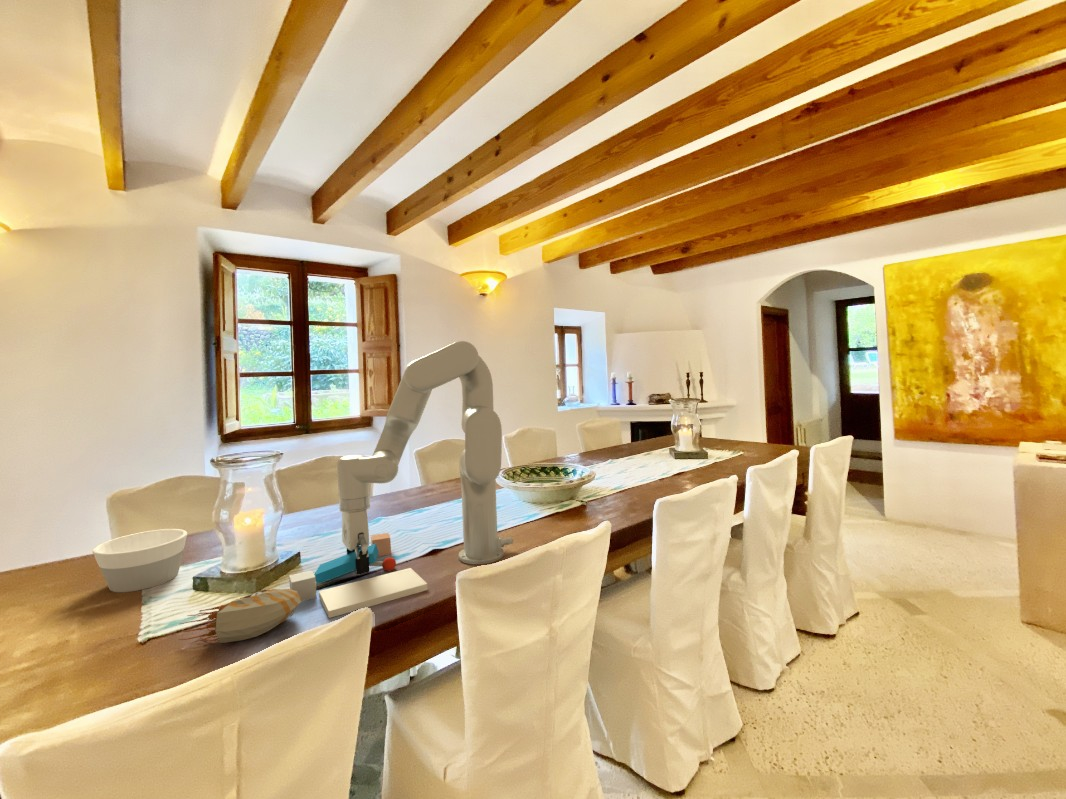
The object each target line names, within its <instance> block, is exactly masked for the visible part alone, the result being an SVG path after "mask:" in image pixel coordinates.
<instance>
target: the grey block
mask: <svg viewBox="0 0 1066 799" xmlns="http://www.w3.org/2000/svg"><path fill="white" fill-rule="evenodd" d="M314 574H315V572H314V571H313V569H312V570H311V569H310V570H307V571H302V572H298V573H293V574H289V575H288V576H289V577H288V578H289V580H288V581H289V589H291V590H295V591H297V593H298V595H299V596H300V598H301V601H300V603H302V602H305V601H308V600H313V599H316V598H317V583H316V578H315V575H314Z"/></svg>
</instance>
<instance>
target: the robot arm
mask: <svg viewBox="0 0 1066 799" xmlns="http://www.w3.org/2000/svg"><path fill="white" fill-rule="evenodd" d="M458 378H459V380H460V383H461V389H462V390H461V393H462V394H461V396H462V405H461V406H462V409H461V410H462V411H461V412H462V414H461V429H462V431H463V433H464V439H465V441H464V442H465V443H464V449H463V450H462V452H461V454H460V457H459V461H458V462H459V464H458V465H459V467H458V468H459V474H460V477H459V478H460V487H461V509H462V510H461V511H462V512H461V514H462V533H463V534H462V535H463V549H461V550H460V551H459V552H458V560H459V561H460V562H462V563H465V564H470V565H486V564H487V565H488V564H492V563H494V562H496V561H499V560H501V559H502V558H503V557H504V555H505V554H504V552H505V551H504V549H503V548H504V547H505V546H508V545H512V544H513V543H514V538H513V537H512V536H508V537H505V536H499V537H498V516H497V513H498V512H497V490H496V480H497V478H498V477H499V475H500V473H501V468H502V449H503V448H502V444H503V443H502V440H503V439H502V437H503V436H502V435H503V434H502V433H503V432H502V428H503V427H502V424H501V423H502V422H501V418H500V417H499V415H498V413H497V412H495V410H494V384H493V378H492V374H491V370H490V369H489V367H488V365H487V363H486V362H485V361H484V359H483V358H482V357H481V356H480V355H479V352H478V349H477V348H476V347H475V345H474V344H473V343H471V342H468V341H467V340H466V341H465V340H457V341H455V342H453V343H450V344H448V345H446V346H444V347H442V348H440V349H437V350H436V351H433V352H431V353H429V354H426V355H425V356H421V357H420V358H417V359H414V360H412V361H411V362H409V363H408V364H407V366H406V367H405V369H404V371H403V374H402V376H401V380H400V382H399V384H398V387H397V390H396V392H395V394H394V397H393V399H392V401H391V403H390V406H389V408H388V411H387V414H386V417H385V422H384V425H383V429H382V431H381V433H380V436H379V439H378V442H377V443H376V447H375V448H374V451H373V453H372V456H365V455H362V454H351V455H350V454H349V455H345V456H342V457H340V458H339V459H338V460H337V463H336V464H337V465H336V466H337V467H336V468H337V470H336V472H337V484H338V503H339V504H338V505H339V512H341V513H342V514H341V520H342V521H341V533H342V534H341V537H342V540H341V541H342V543H343V546H345V547H346V555H347V554H349V553H352V552H355V553H356V558H357V559H355V564H356V570H355V574H356V575H357V576H358V575H363V574H367V573H369V572H370V566H369V555H368V550H367V547H368V546H370V532H369V531H370V530H369V518H368V509H370V507H371V497H370V496H371V495H370V493H371V492H370V484H381V485H382V484H387V483H389V482H392V481H394V479H395V478H396V477H397V476H398V473H399V466H400V465H399V464H400V462H401V459H402V456H403V453H404V451H405V449H406V446H407V445H408V442H409V440H410V437H411V436H412V434H413V433H414V432H415V431H416V429H417V427H418V425H419V423H420V422H421V419H422V415H423V413H424V412H425V408H426V405H427V404H428V401H429V398H430V396H431V394H432V391H433V390H434V389H436V388H439V387H441V386H444V385H446V384H448V383H449V382H452V381H454V380H456V379H458ZM358 550H360V552H358Z"/></svg>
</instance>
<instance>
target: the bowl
mask: <svg viewBox="0 0 1066 799" xmlns="http://www.w3.org/2000/svg"><path fill="white" fill-rule="evenodd" d="M187 537H188V532H187V531H186V530H185V529H181V528H180V529H179V528H162V529H152V530H145V531H141V532H137V533H132V534H127V535H123V536H119V537H116V538H112V539H110V540H107V541H104V542H102V543H100V544H98V545H97V546H95V547H94V548H93V549H92V554H93V556H94V559H95V561H96V563H97V565H98V567H99V569H100V571H101V574H102V576H103V578H104V580H105V582H106V584H107V586H108V589H109V591H111V592H113V593H129V592H137V591H141V590H146V589H151V588H153V587H157V586H159V585H162V584H165V583H167V582H170V581H171V580H173V579H175V578H176V577H177V576H178V575H179V572H180V567H181V564H182V563H181V562H182V560H183V559H182V557H183V555H184V554H183V553H184V549H185V545H186V541H187Z"/></svg>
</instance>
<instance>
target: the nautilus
mask: <svg viewBox="0 0 1066 799" xmlns="http://www.w3.org/2000/svg"><path fill="white" fill-rule="evenodd" d="M300 601H301V598H300V596H299V595H298V593H297V591H295V590H291V589H290V588H282V589H281V588H272V589H263V590H258V591H256V592H253V593H251V594H248V595H245V596H242V597H240V598H237V599H234V600H232V601H230V602H229V603H226V604H221V605H220V606H214V607H211V608H206V609H199V610H198V613H196V614H189V615H187V617H193V616H194V617H196V616H197V617H200V616H206V615H208V616H206V617H203V618H202V619H201V618H200V619H197V620H190V621H186V622H180V623H179V625H183V624H188V623H195V622H202V621H207V622H210V621H214V622H210V623H209V624H206V625H205V626H204V627H198V628H197V627H196V628H194V629H189V630H188V629H187V630H183V631H182V632H183V633H189V632H194V631H202V630H208V631H209V632H208V633H204V634H200V635H197V636H193V637H188V638H181V639H179V638H178V641H185V640H187V641H188V640H192V639H196V638H200V639H198V640H195V641H193V642H191V643H189V645H191V644H192V645H193V644H194V643H196V642H199V641H200V642H201V641H207V642H208V643H206V644H203V647H205V646H206V645H209V644H212V643H214V642H219V644H223V643H233V642H239V641H244V640H248V639H252V638H256V637H258V636H260V635H262V634H264V633H267V632H269V631H271V630H272V629H273V628H275V627H276V626H278V625H280V624H281V623H283V622H285V621H287V619H289V617H291V615H293V613H294V612H295V610H297V607H298V606H299V604H300V603H301V602H302V601H301V602H300ZM205 611H209V612H205ZM210 611H211V612H210ZM212 628H214V629H212ZM203 637H206V638H203ZM211 638H214V639H211Z"/></svg>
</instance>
